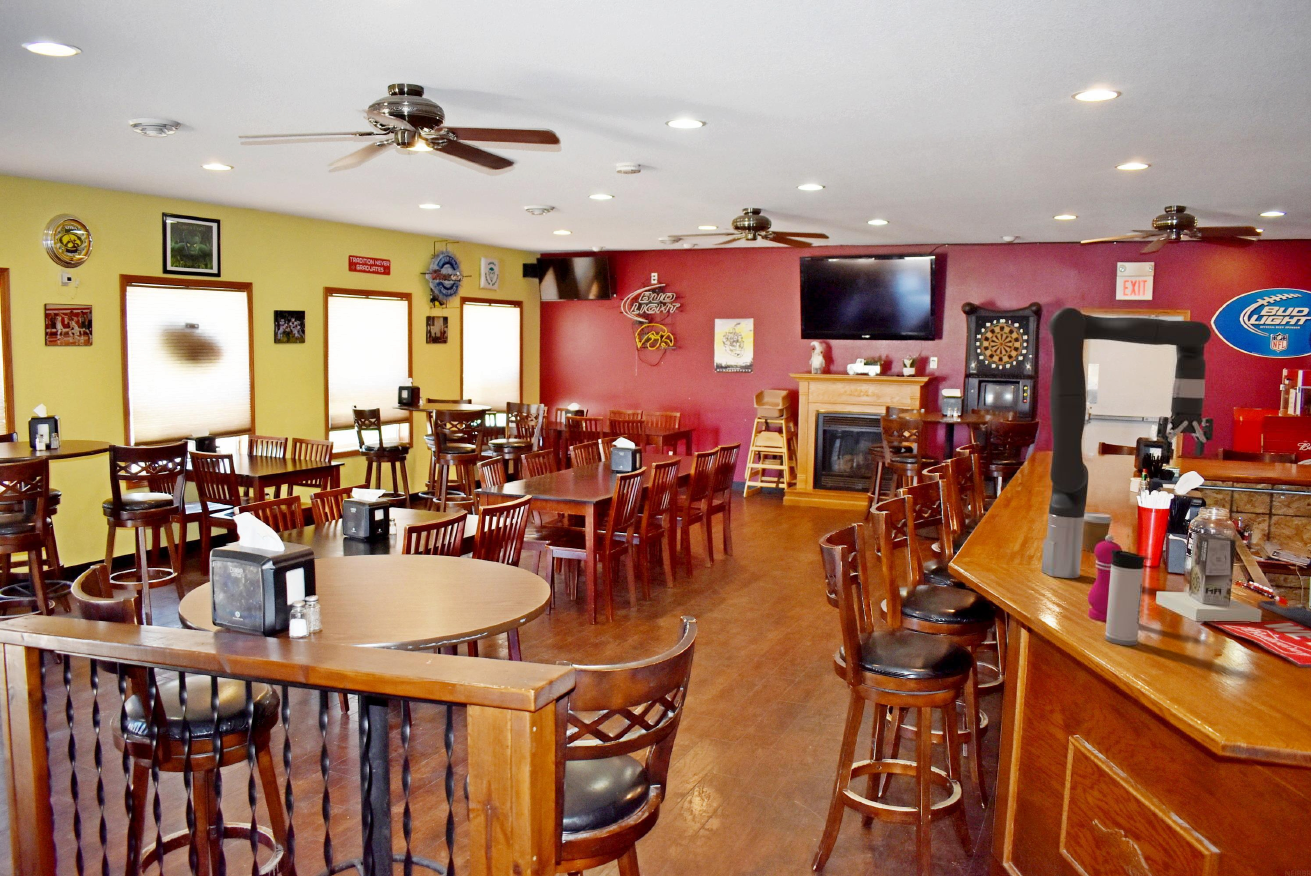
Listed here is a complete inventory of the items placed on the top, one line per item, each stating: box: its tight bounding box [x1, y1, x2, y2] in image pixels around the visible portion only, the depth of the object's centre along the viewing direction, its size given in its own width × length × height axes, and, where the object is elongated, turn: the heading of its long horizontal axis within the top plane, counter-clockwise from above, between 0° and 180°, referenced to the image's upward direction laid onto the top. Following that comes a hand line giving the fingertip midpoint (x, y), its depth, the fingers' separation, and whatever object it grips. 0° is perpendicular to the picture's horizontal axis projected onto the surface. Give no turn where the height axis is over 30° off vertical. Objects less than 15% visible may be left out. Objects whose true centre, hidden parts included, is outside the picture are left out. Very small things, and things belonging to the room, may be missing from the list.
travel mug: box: [1104, 550, 1145, 647], centre depth 200 cm, size 6×7×20 cm
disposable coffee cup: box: [1082, 511, 1113, 553], centre depth 299 cm, size 10×10×12 cm
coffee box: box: [1188, 532, 1237, 606], centre depth 226 cm, size 9×6×16 cm
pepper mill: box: [1087, 534, 1123, 622], centre depth 218 cm, size 7×7×20 cm
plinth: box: [1155, 591, 1262, 622], centre depth 227 cm, size 16×16×3 cm
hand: (1182, 455), depth 251 cm, fingers open, 8 cm apart
